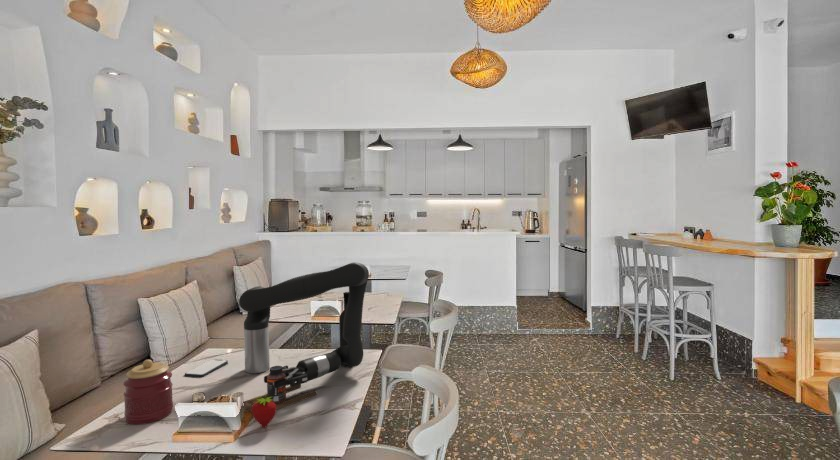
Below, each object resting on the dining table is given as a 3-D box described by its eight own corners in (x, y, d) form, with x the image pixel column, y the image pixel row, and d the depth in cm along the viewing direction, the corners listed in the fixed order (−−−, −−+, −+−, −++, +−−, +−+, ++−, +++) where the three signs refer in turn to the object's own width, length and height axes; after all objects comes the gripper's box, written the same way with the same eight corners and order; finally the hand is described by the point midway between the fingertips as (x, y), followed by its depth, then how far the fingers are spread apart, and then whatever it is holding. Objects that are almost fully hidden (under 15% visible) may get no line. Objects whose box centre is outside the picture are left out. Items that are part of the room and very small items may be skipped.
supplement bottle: (280, 405, 138) (279, 371, 138) (263, 404, 140) (262, 370, 139) (289, 397, 144) (288, 364, 144) (273, 396, 145) (272, 363, 145)
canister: (143, 405, 140) (141, 352, 139) (182, 405, 140) (180, 352, 139) (113, 425, 127) (111, 367, 126) (156, 425, 127) (154, 367, 126)
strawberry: (260, 420, 129) (259, 387, 129) (281, 423, 127) (280, 391, 126) (246, 429, 123) (245, 396, 123) (268, 433, 121) (267, 399, 121)
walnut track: (242, 405, 139) (242, 401, 139) (299, 386, 154) (299, 382, 154) (258, 416, 131) (258, 412, 131) (316, 394, 147) (316, 391, 147)
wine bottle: (344, 361, 179) (343, 291, 178) (357, 362, 178) (356, 291, 177) (339, 366, 174) (337, 293, 173) (352, 367, 173) (351, 294, 171)
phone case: (202, 379, 164) (229, 363, 179) (202, 375, 164) (229, 360, 179) (182, 377, 165) (211, 362, 181) (182, 373, 165) (210, 358, 181)
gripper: (302, 353, 157) (258, 366, 145) (324, 362, 147) (279, 376, 135) (302, 373, 157) (259, 387, 145) (325, 383, 147) (280, 400, 135)
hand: (269, 382), depth 140 cm, fingers closed on supplement bottle, 6 cm apart
